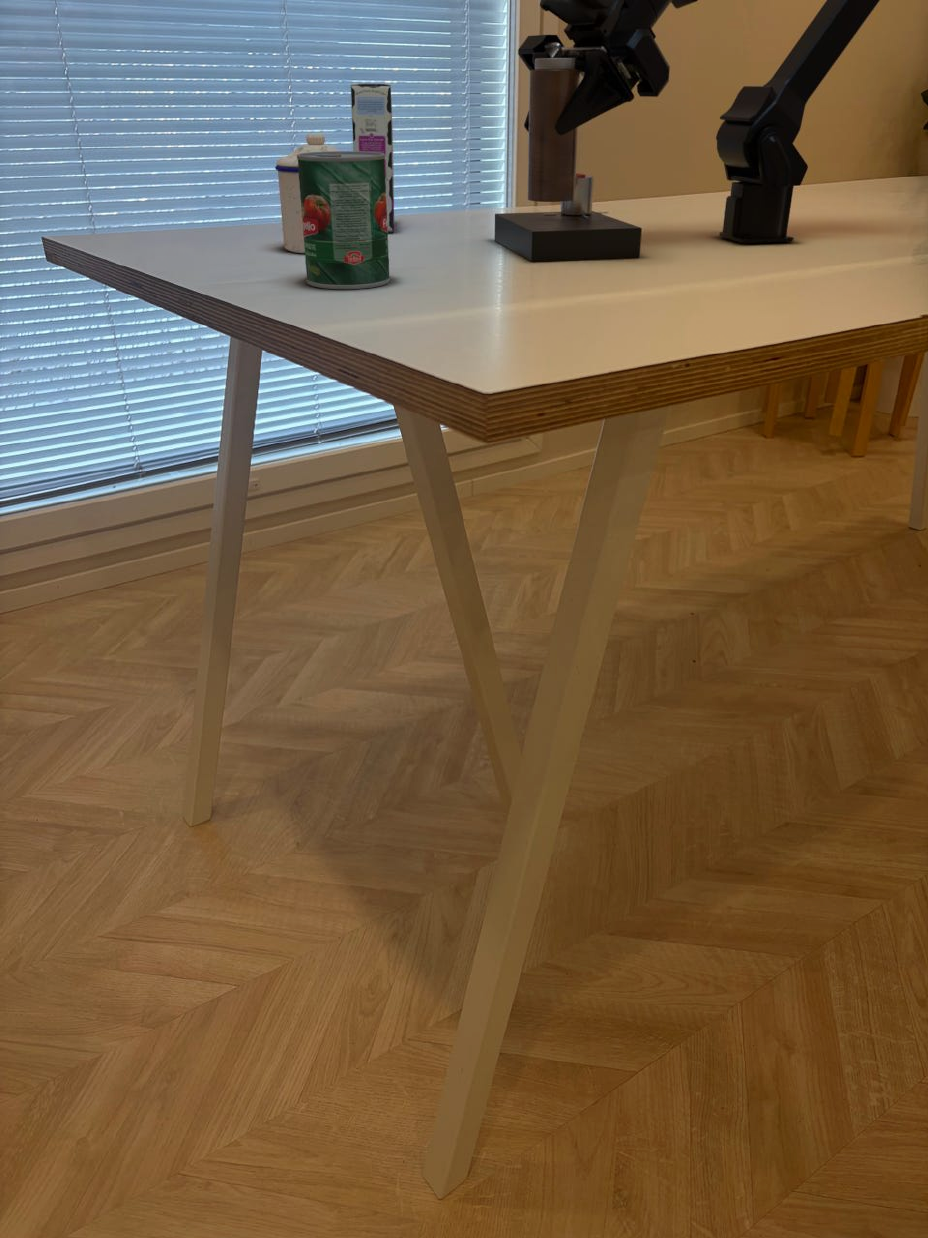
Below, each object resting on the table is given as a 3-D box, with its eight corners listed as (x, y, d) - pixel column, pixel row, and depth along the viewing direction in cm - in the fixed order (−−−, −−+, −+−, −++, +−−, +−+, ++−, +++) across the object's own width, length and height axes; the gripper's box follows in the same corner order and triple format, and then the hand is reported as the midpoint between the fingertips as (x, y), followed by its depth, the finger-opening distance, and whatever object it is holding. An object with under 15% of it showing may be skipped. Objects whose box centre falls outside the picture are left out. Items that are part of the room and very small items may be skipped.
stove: (595, 235, 121) (597, 207, 119) (647, 257, 106) (650, 225, 105) (492, 239, 118) (492, 211, 117) (531, 261, 104) (532, 229, 102)
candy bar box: (396, 233, 123) (391, 83, 115) (356, 233, 123) (348, 83, 115) (394, 221, 133) (390, 82, 125) (357, 222, 133) (350, 83, 125)
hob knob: (556, 212, 116) (558, 172, 114) (585, 211, 117) (587, 171, 115) (566, 215, 113) (567, 174, 111) (596, 214, 114) (598, 174, 112)
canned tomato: (407, 281, 94) (403, 153, 89) (341, 292, 89) (333, 157, 84) (354, 271, 99) (348, 149, 94) (289, 281, 94) (278, 153, 89)
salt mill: (577, 197, 107) (583, 58, 100) (571, 202, 102) (577, 57, 96) (531, 196, 108) (534, 58, 101) (523, 201, 103) (526, 58, 97)
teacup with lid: (357, 254, 108) (350, 136, 103) (274, 254, 109) (263, 136, 103) (371, 239, 119) (366, 130, 113) (296, 238, 119) (287, 130, 114)
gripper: (534, -55, 103) (445, 68, 103) (657, -77, 89) (554, 65, 89) (590, 34, 110) (507, 148, 110) (711, 27, 96) (616, 158, 96)
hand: (542, 130), depth 101 cm, fingers closed on salt mill, 5 cm apart
